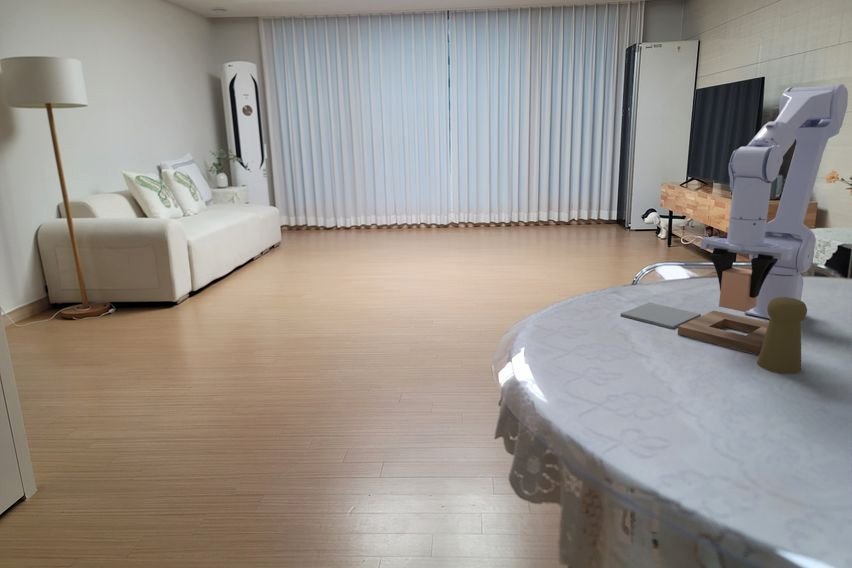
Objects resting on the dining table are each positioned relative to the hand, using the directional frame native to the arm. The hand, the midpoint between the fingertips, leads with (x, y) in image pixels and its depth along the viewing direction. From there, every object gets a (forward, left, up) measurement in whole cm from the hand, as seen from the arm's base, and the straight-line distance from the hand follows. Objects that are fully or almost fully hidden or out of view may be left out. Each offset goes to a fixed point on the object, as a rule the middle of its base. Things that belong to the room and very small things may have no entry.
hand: (738, 293), depth 105 cm
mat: (0, -14, -8) cm, 16 cm away
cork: (+10, +11, -8) cm, 17 cm away
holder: (0, 0, -8) cm, 8 cm away
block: (0, 0, -2) cm, 2 cm away
